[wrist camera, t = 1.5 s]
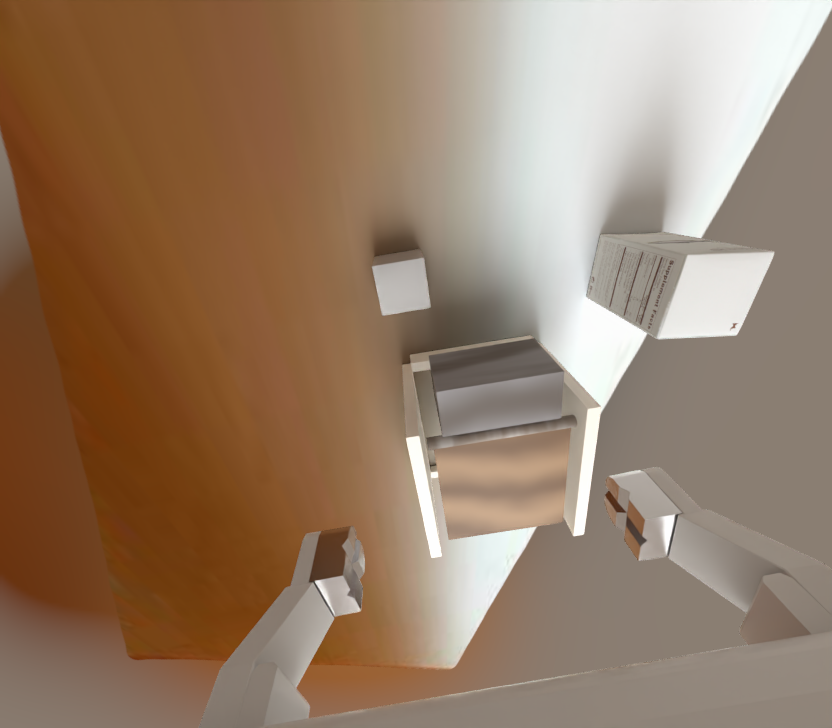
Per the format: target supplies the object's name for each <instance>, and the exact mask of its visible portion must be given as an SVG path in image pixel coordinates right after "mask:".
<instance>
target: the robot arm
mask: <svg viewBox="0 0 832 728" xmlns="http://www.w3.org/2000/svg"><path fill="white" fill-rule="evenodd" d="M606 486H607V488H608V489H609V491H608V492H607V493H606V495H605V506H606V510H607V513H608V515H609V517H610V519H611V521H612V522H613V524H614V525H615V526H616V527H617V528H619V529H621V530H622V531H624V532H625V538H624V540H625V542H626V543H627V545H628V546H629V548H630V549H631V551H632V552H633V554H634V555H635V557H636V558H637V560H638V561H642V560H648V559H655V558H662V557H669V559H670V560H672V561H673V562H675V563H676V564H678V565H679V566H680V567H682V568H683V569H685V570H686V571H688V572H689V573H690V574H692V575H693V576H695V577H696V578H698V579H699V580H700V581H702V582H703V583H705V584H706V585H707V586H709V587H710V588H712V589H713V590H715V591H716V592H718V593H719V594H720V595H722V596H723V597H724V598H726V599H727V600H729V601H730V602H732V603H733V604H734V605H736V606H737V607H739V608H740V609H742V610H743V611H744V612H746V615H745V618H744V620H743V622H742V625H741V627H740V631H739V634H740V635H741V637H742V638H743V639H744V641H745V642H746V643H747V644H748V645H745V646H739V647H733V648H727V649H721V650H715V651H709V652H703V653H697V654H691V655H685V656H679V657H673V658H667V659H662V660H655V661H650V662H643V663H637V664H632V665H625V666H619V667H613V668H607V669H602V670H596V671H589V672H583V673H578V674H572V675H566V676H560V677H553V678H548V679H541V680H535V681H529V682H523V683H518V684H512V685H506V686H500V687H494V688H488V689H482V690H476V691H470V692H464V693H458V694H452V695H446V696H440V697H434V698H428V699H422V700H416V701H410V702H404V703H398V704H392V705H386V706H380V707H374V708H368V709H363V710H356V711H351V712H345V713H339V714H333V715H327V716H321V717H315V718H309V719H308V717H309V710H310V706H309V704H308V702H307V701H306V699H305V698H304V697H303V696H302V695H301V694H300V692H299V691H298V690H297V689H296V687H297V686H298V684H299V682H300V680H301V678H302V676H303V675H304V673H305V671H306V669H307V667H308V665H309V664H310V662H311V660H312V658H313V656H314V655H315V653H316V651H317V649H318V647H319V645H320V644H321V642H322V640H323V638H324V636H325V634H326V633H327V631H328V629H329V627H330V625H331V623H332V622H333V620H334V617H335V616H340V615H344V614H349V613H354V612H358V611H361V605H362V593H363V587H362V585H361V582H360V578H361V577H362V575H363V574H364V567H365V560H364V551H363V547H362V544H361V542H360V541H359V540H357V539H356V531H355V529H354V526H349V527H343V528H337V529H331V530H324V531H319V532H313V533H308V534H306V535H305V537H304V539H303V542H302V545H301V549H300V553H299V557H298V560H297V564H296V568H295V572H294V575H293V579H292V583H291V586H290V587H286V588H285V589H284V590H283V592H282V593H281V594H280V595H279V597H278V598H277V599H276V600H275V602H274V603H273V604H272V605H271V607H270V608H269V609H268V610H267V612H266V613H265V614H264V615H263V617H262V618H261V619H260V620H259V622H258V623H257V624H256V625H255V627H254V628H253V629H252V630H251V632H250V633H249V634H248V635H247V637H246V638H245V639H244V640H243V642H242V643H241V644H240V645H239V647H238V648H237V649H236V650H235V652H234V653H233V654H232V655H231V657H230V658H229V659H228V660H227V662H226V663H225V664H224V665H223V667H222V668H221V669H220V671H219V674H218V677H217V680H216V682H215V685H214V688H213V690H212V693H211V696H210V699H209V701H208V704H207V707H206V709H205V712H204V715H203V717H202V720H201V723H200V726H199V728H832V570H831V569H830V568H829V567H828V566H826V565H825V564H824V563H822V562H820V561H817V560H815V559H813V558H811V557H809V556H807V555H805V554H802V553H800V552H798V551H796V550H794V549H792V548H790V547H787V546H785V545H783V544H781V543H779V542H776V541H774V540H772V539H770V538H768V537H766V536H764V535H762V534H760V533H757V532H755V531H753V530H751V529H749V528H747V527H745V526H742V525H740V524H738V523H736V522H734V521H732V520H730V519H727V518H725V517H723V516H721V515H719V514H716V513H715V512H713V511H710V510H708V509H707V510H702V509H701V508H700V507H699V506H698V505H697V504H696V503H695V502H694V501H693V500H692V499H691V498H690V497H689V496H688V495H687V494H686V493H685V492H684V491H683V490H682V489H681V488H680V487H679V486H678V485H677V484H676V483H675V482H674V481H673V480H672V479H671V478H670V477H669V476H668V475H667V474H666V473H665V471H664V470H663V469H661V468H659V467H654V468H649V469H644V470H637V471H632V472H627V473H622V474H617V475H613V476H608V477H607V479H606Z"/></svg>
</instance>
